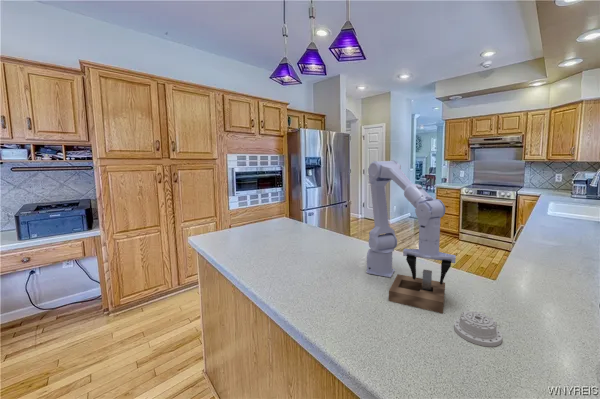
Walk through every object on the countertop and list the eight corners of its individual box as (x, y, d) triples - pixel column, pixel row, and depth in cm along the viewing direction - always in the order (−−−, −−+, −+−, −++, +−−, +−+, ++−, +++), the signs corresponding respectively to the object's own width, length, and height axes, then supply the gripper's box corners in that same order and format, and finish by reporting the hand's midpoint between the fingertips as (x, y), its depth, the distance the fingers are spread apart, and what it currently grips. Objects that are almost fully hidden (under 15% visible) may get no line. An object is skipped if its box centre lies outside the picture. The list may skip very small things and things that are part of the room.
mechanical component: (503, 332, 65) (458, 317, 72) (505, 316, 65) (459, 302, 71) (499, 354, 58) (449, 335, 65) (501, 336, 58) (450, 319, 64)
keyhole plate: (388, 300, 82) (388, 290, 81) (397, 283, 93) (397, 274, 93) (442, 313, 74) (443, 302, 73) (444, 292, 86) (445, 282, 85)
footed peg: (417, 299, 82) (417, 272, 81) (419, 293, 86) (419, 267, 85) (434, 303, 79) (435, 275, 78) (435, 296, 83) (436, 270, 82)
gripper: (401, 239, 80) (400, 280, 82) (456, 245, 73) (454, 291, 74) (405, 233, 86) (404, 272, 88) (456, 239, 79) (454, 281, 80)
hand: (427, 280), depth 82 cm, fingers open, 7 cm apart
